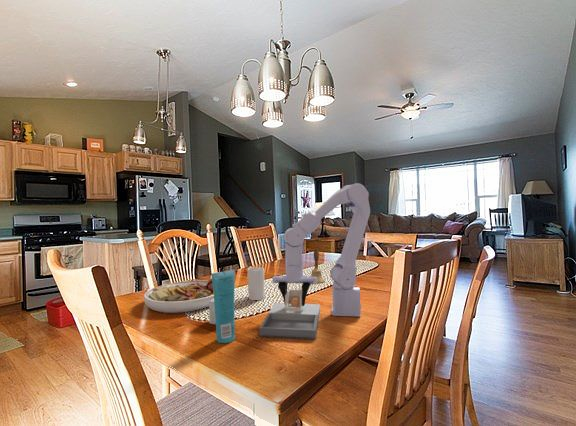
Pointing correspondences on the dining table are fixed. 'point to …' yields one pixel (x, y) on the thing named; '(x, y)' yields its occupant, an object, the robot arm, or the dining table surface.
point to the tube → (224, 305)
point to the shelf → (295, 312)
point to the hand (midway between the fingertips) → (294, 304)
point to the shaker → (289, 295)
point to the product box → (212, 312)
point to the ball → (295, 302)
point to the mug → (256, 283)
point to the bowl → (180, 296)
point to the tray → (288, 328)
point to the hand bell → (316, 271)
